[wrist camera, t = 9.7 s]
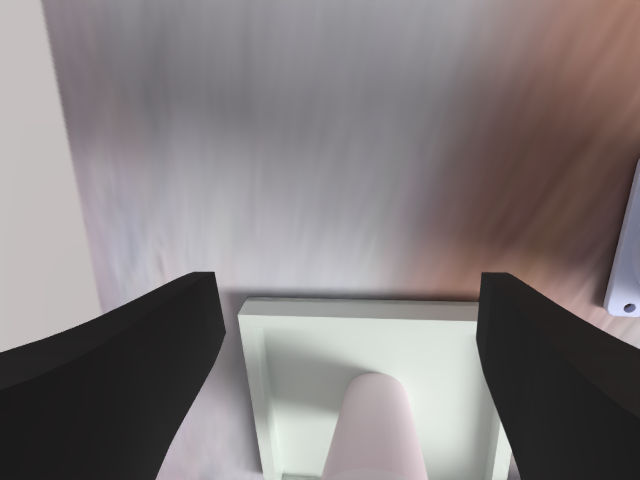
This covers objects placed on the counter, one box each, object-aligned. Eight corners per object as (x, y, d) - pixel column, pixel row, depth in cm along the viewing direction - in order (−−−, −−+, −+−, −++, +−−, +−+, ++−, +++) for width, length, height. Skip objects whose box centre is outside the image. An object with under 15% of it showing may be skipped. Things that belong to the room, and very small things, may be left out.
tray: (521, 302, 21) (533, 323, 20) (492, 496, 27) (499, 524, 25) (247, 297, 23) (237, 314, 22) (274, 476, 29) (267, 501, 27)
